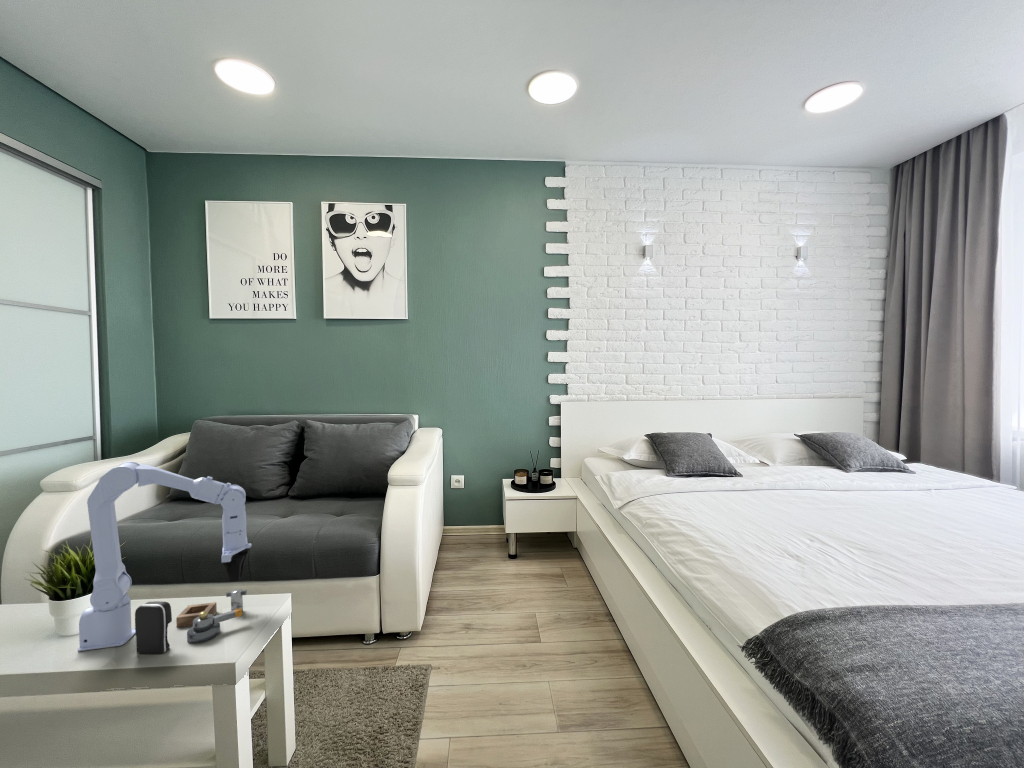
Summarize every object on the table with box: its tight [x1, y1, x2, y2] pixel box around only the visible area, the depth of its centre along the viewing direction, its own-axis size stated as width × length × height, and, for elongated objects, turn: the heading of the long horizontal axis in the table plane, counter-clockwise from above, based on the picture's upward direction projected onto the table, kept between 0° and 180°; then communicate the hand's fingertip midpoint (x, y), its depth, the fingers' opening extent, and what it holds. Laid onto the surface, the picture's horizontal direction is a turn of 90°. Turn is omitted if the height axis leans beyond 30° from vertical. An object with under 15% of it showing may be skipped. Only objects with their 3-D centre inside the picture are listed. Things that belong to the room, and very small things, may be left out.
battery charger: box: [134, 600, 173, 655], centre depth 113 cm, size 7×4×11 cm, turn 86°
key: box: [226, 588, 248, 613], centre depth 131 cm, size 5×3×6 cm, turn 103°
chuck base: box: [186, 611, 221, 645], centre depth 119 cm, size 7×7×6 cm
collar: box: [192, 608, 243, 632], centre depth 121 cm, size 4×11×2 cm, turn 131°
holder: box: [175, 601, 218, 628], centre depth 128 cm, size 7×7×3 cm
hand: (236, 578), depth 131 cm, fingers closed
